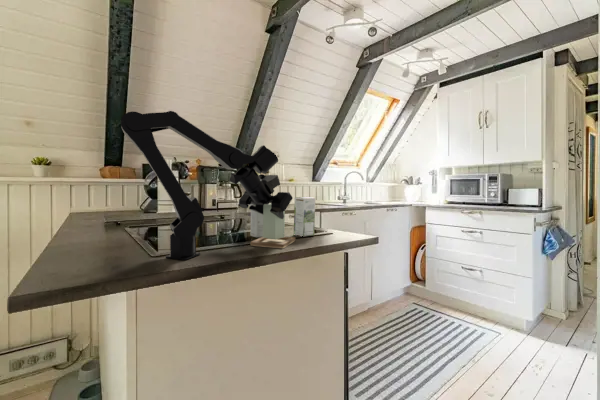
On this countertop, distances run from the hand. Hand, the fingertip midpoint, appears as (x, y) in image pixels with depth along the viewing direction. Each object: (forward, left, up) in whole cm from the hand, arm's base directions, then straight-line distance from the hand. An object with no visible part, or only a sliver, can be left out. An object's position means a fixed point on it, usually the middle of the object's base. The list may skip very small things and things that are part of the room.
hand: (276, 217), depth 99 cm
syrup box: (+16, -5, -9) cm, 19 cm away
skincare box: (+9, +10, -9) cm, 16 cm away
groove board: (-1, 0, -8) cm, 9 cm away
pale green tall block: (-1, 0, -7) cm, 7 cm away
